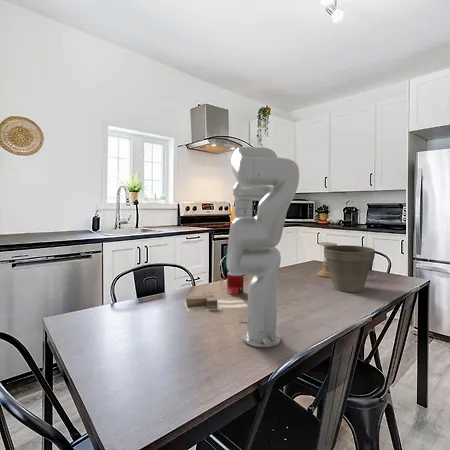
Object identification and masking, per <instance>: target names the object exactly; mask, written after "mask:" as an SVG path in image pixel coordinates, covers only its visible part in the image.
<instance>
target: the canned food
mask: <svg viewBox="0 0 450 450" xmlns="http://www.w3.org/2000/svg"><path fill="white" fill-rule="evenodd" d="M244 277H245V276H244V275H234V274H231V273H230V272H229V271H227V274H226V278H227V279H226V287H227V288H226V290H227V294H228V295H230V296H231V295H232V296H241V295H243V294H244V279H245V278H244Z"/></svg>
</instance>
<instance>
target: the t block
mask: <svg viewBox="0 0 450 450" xmlns="http://www.w3.org/2000/svg"><path fill="white" fill-rule="evenodd" d="M185 298H186V299H185V301H186V305H187V308H188V307H202V306H206V307H207V309H217V299H218V298H217V297H216V296H215V294H214V293H213V292H202V295H189V296H185Z"/></svg>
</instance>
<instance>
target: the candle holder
mask: <svg viewBox="0 0 450 450" xmlns="http://www.w3.org/2000/svg"><path fill="white" fill-rule="evenodd" d="M318 244H319V245H320V247H321V246H322V247H323V248H324V247H327V246H335V245H338V243H336V242H328V241H327V242H319V243H318ZM322 262H323V263H322V266H323V269H321V270H319V271H317V272H316V276H318V277H321V278H329V279H331V276H330V272H329V269H328V265H327V260H326V258H325V257H324V256H323V259H322Z"/></svg>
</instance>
